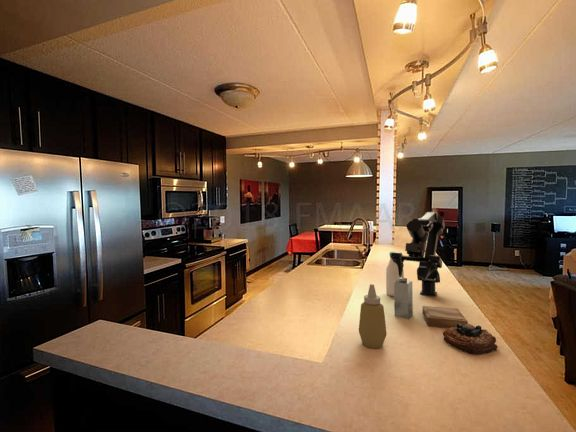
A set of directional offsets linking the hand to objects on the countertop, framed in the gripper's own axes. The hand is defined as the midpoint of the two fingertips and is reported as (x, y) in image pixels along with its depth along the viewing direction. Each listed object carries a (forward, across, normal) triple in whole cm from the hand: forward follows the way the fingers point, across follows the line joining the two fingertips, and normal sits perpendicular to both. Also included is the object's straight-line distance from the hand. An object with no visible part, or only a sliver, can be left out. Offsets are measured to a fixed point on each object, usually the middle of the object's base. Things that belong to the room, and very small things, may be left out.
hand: (411, 278), depth 110 cm
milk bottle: (+1, -12, +21) cm, 24 cm away
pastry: (+22, +22, -7) cm, 31 cm away
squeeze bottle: (+32, -1, -22) cm, 38 cm away
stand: (+13, +12, +4) cm, 18 cm away
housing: (+15, -1, +1) cm, 15 cm away
